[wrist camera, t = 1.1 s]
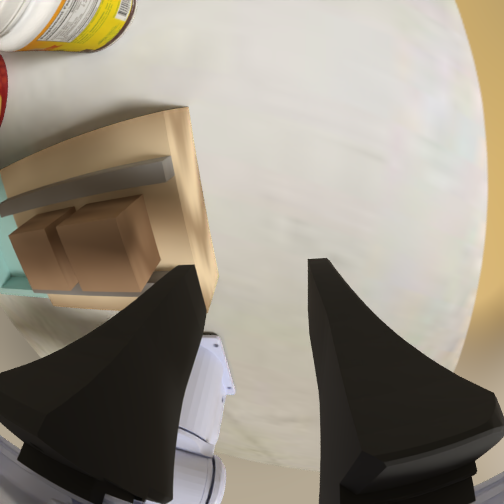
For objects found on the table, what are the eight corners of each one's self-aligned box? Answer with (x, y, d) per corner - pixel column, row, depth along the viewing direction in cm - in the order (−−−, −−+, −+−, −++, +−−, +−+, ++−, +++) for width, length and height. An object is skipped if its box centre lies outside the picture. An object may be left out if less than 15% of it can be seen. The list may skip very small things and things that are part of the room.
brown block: (161, 260, 16) (141, 292, 13) (106, 262, 17) (82, 291, 14) (142, 194, 14) (115, 218, 11) (86, 203, 15) (55, 226, 12)
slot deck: (218, 276, 21) (203, 326, 17) (76, 278, 23) (46, 315, 19) (188, 106, 15) (153, 112, 11) (33, 154, 17) (-12, 175, 13)
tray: (74, 279, 23) (57, 298, 20) (15, 278, 24) (1, 293, 22) (32, 155, 17) (7, 166, 14) (-21, 182, 19) (-40, 193, 16)
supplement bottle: (63, 27, 12) (-49, 25, 3) (116, -29, 10) (14, -70, 1) (96, 69, 14) (-29, 79, 5) (157, 9, 12) (46, -40, 3)
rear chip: (94, 263, 17) (70, 290, 14) (56, 264, 17) (32, 289, 15) (74, 206, 15) (44, 228, 12) (36, 214, 15) (8, 235, 13)
